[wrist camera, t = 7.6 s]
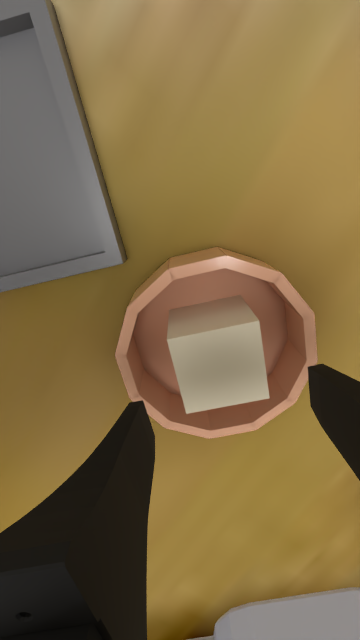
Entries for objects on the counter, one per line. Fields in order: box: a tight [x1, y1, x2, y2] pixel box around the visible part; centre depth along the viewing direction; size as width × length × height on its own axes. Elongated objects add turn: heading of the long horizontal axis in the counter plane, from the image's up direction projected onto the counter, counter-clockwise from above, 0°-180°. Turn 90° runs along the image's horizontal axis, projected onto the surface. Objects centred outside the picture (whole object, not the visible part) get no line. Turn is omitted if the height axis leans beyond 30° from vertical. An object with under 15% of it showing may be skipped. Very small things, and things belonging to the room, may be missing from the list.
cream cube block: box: [167, 295, 270, 414], centre depth 17 cm, size 4×4×4 cm
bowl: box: [115, 247, 318, 439], centre depth 18 cm, size 11×11×4 cm
